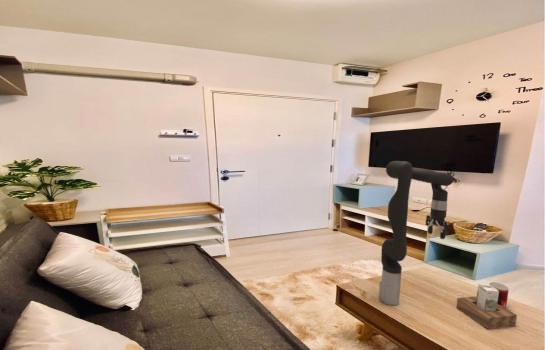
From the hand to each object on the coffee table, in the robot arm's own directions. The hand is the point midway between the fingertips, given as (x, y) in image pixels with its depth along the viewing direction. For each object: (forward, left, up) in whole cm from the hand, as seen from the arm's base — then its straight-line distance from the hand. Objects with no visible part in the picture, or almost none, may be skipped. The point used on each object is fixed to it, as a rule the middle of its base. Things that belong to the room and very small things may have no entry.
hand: (436, 236), depth 145 cm
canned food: (+25, -17, -33) cm, 45 cm away
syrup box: (+9, -24, -32) cm, 41 cm away
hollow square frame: (+9, -24, -33) cm, 42 cm away
